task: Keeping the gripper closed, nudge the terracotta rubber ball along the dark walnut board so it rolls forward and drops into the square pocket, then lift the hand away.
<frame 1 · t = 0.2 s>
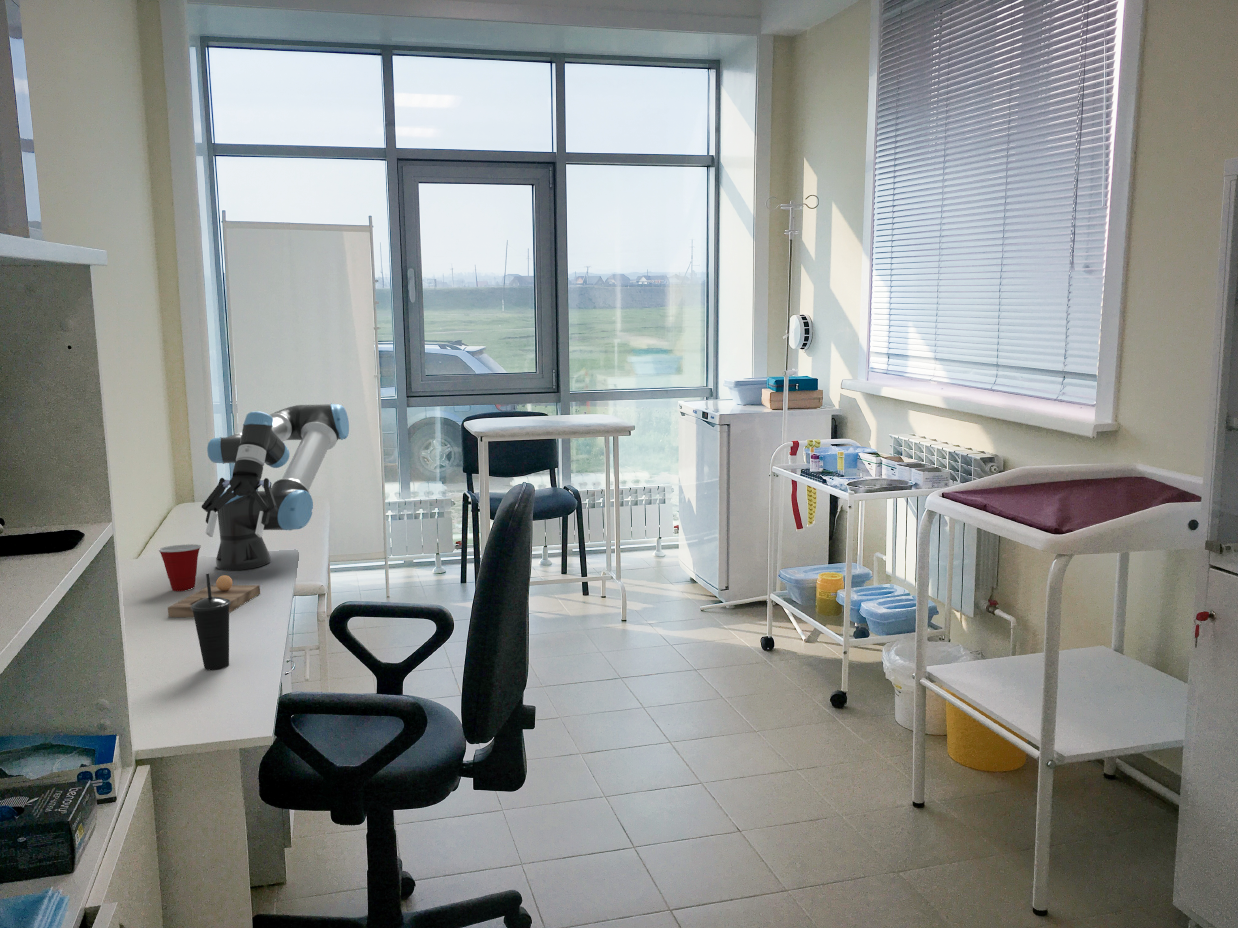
hand: (233, 535, 263), 15 cm above the table, tool tilted 35°, fingers open, 13 cm apart
drinking cup: (216, 667, 206), on the table
board: (216, 605, 252), on the table
ball: (224, 582, 257), point 4 cm above the table, touching board
plastic cup: (184, 589, 270), on the table
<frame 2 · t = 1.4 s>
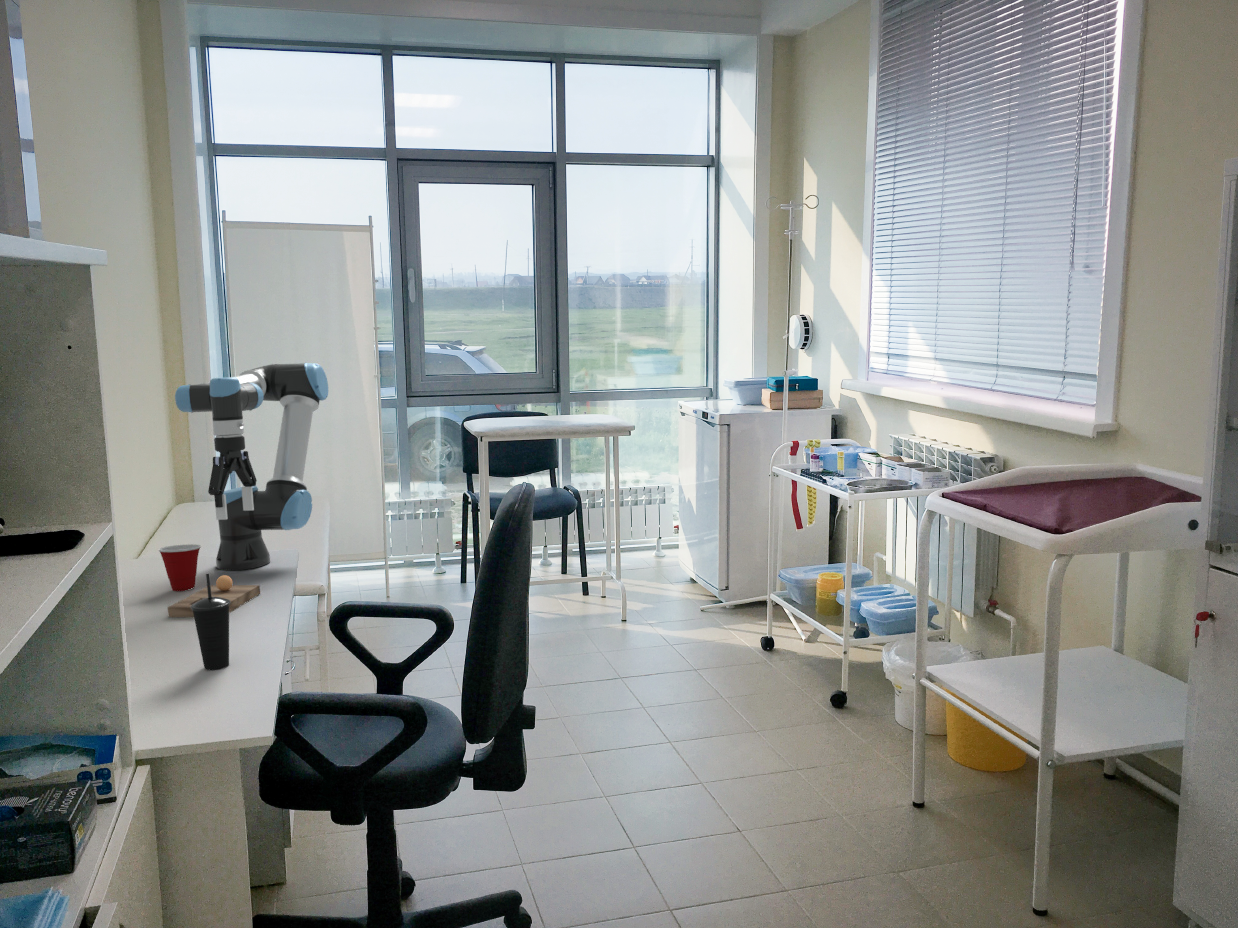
hand: (235, 514, 263), 21 cm above the table, tool pointing down, fingers open, 13 cm apart
nothing on the table moved.
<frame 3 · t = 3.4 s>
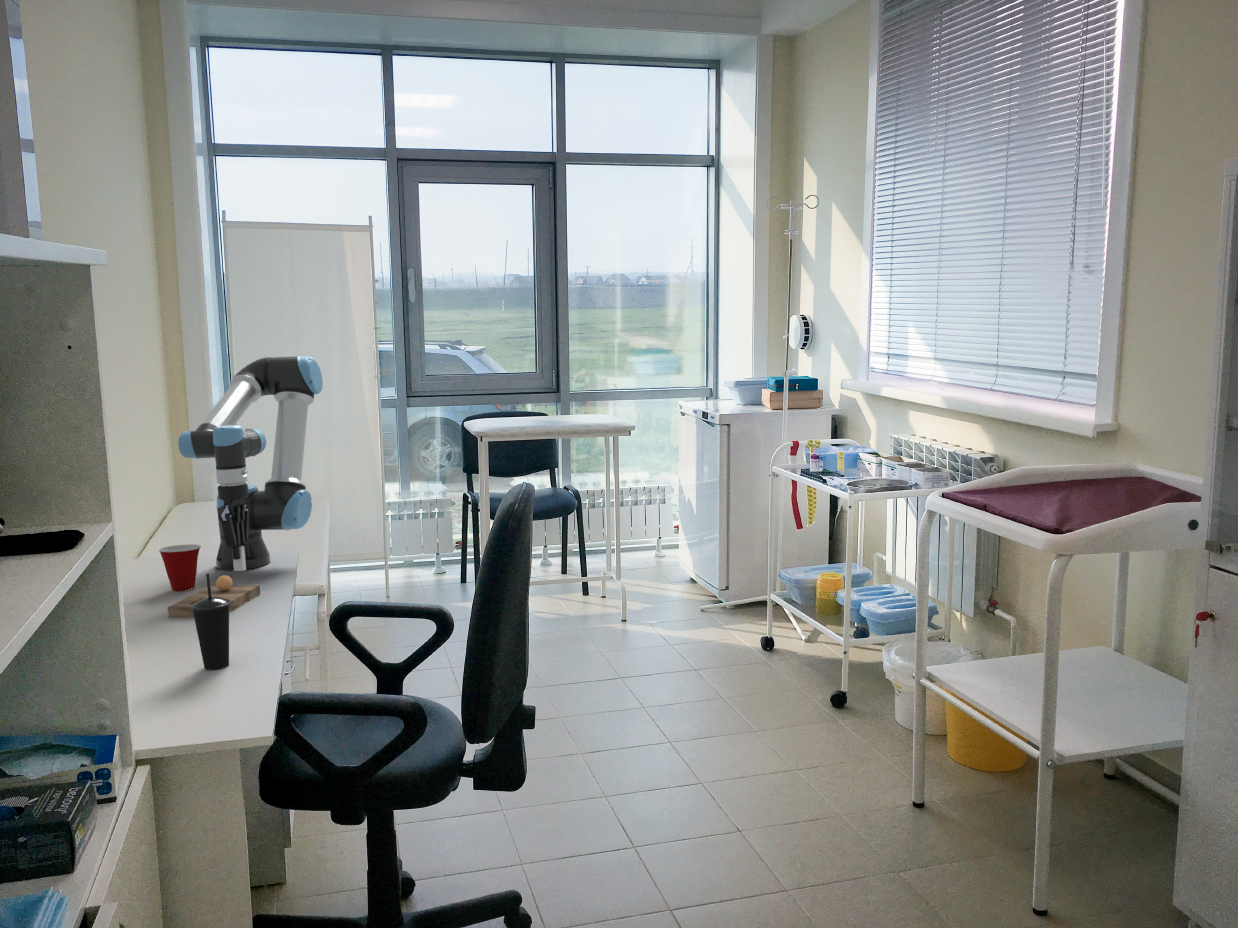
hand: (240, 570, 265), 6 cm above the table, tool pointing down, fingers closed
nothing on the table moved.
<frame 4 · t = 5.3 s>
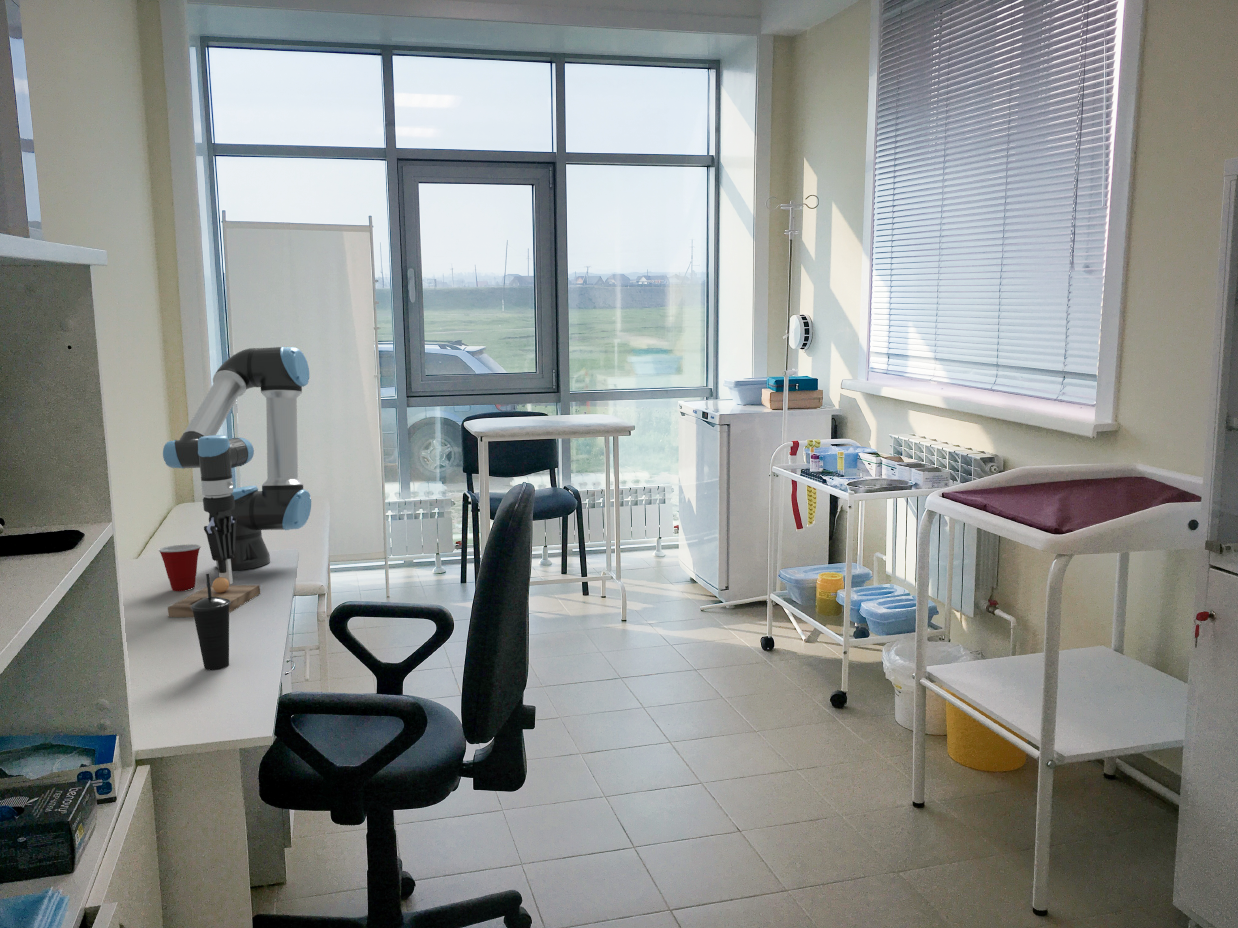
hand: (226, 583, 258), 4 cm above the table, tool pointing down, fingers closed
ball: (220, 584, 255), point 4 cm above the table, tilted 49°, touching board
everything else where it was.
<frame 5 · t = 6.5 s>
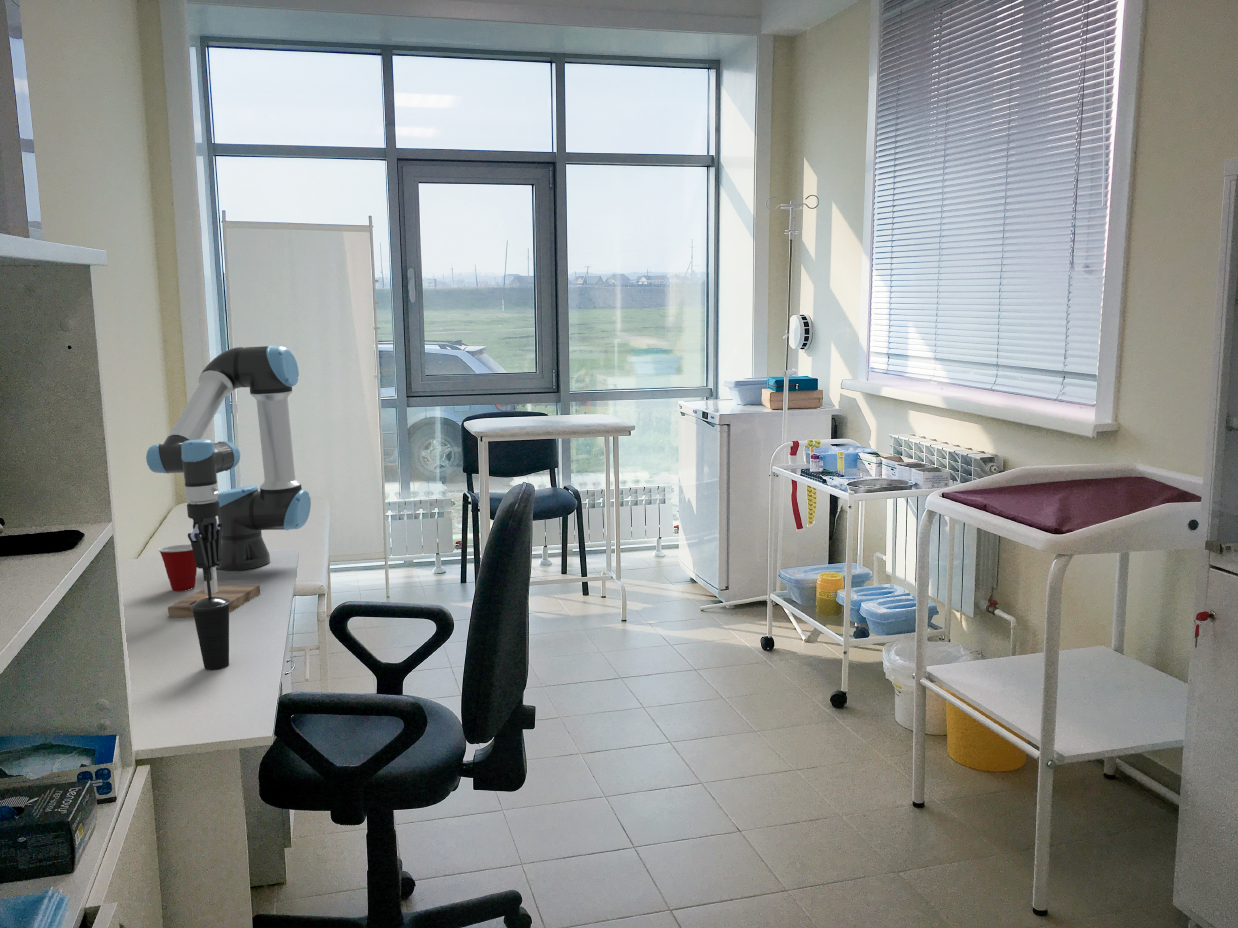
hand: (211, 592, 250), 4 cm above the table, tool pointing down, fingers closed
ball: (204, 604, 247), point 2 cm above the table, tilted 36°
everything else where it was.
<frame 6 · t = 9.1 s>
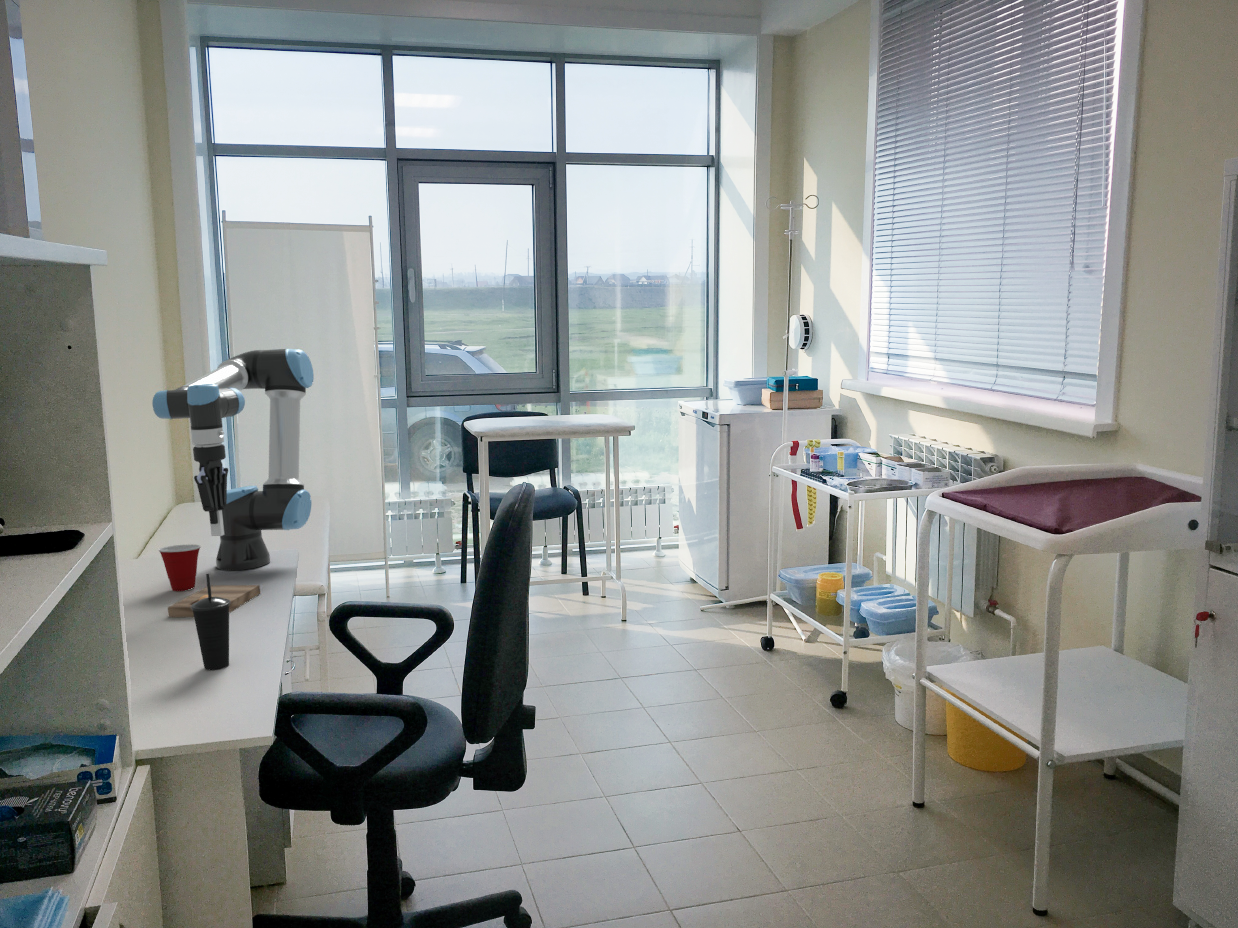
hand: (217, 535, 254), 17 cm above the table, tool pointing down, fingers closed
ball: (206, 602, 248), point 2 cm above the table, tilted 71°
everything else where it was.
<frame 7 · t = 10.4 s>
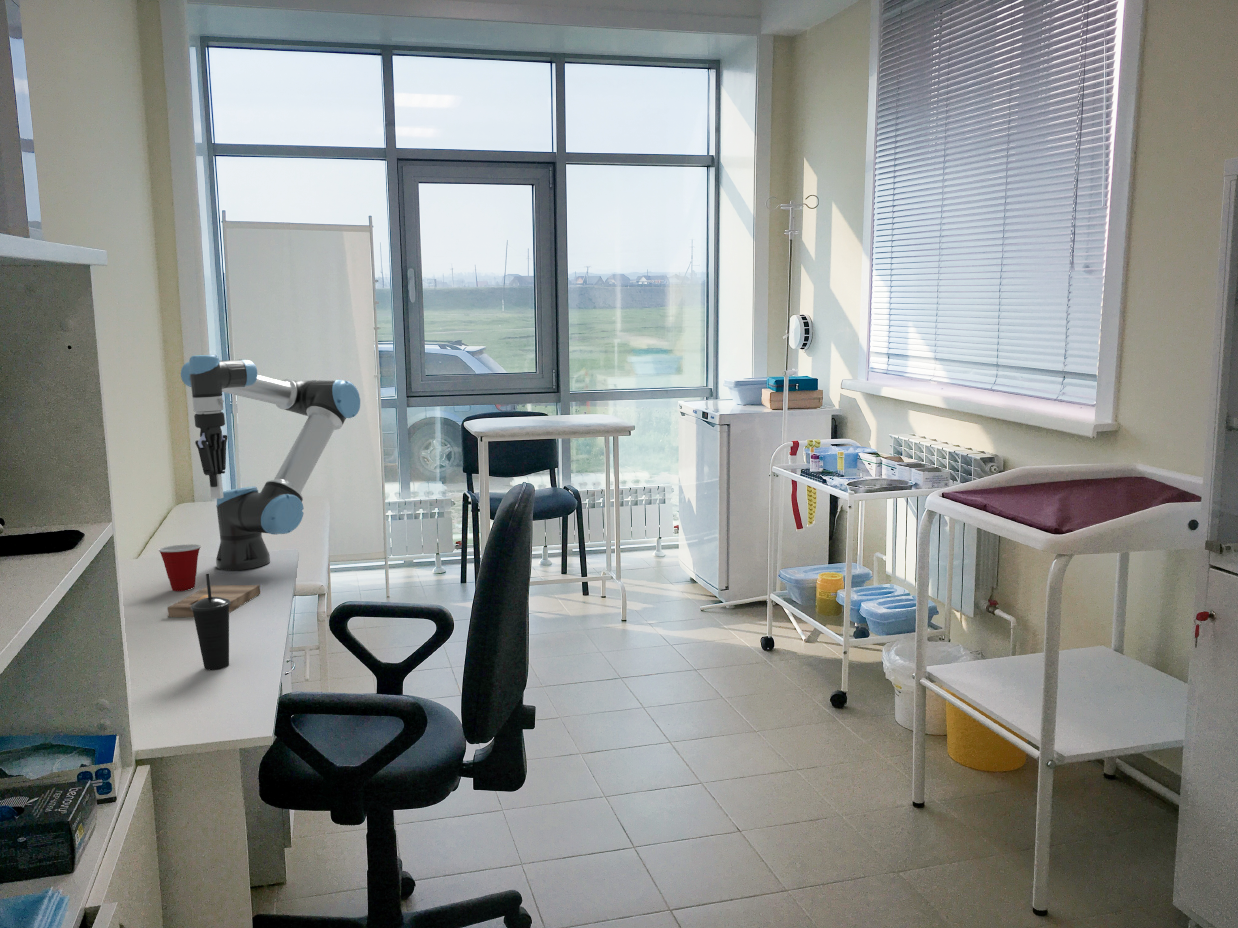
hand: (217, 497, 269), 24 cm above the table, tool pointing down, fingers closed
ball: (206, 602, 248), point 2 cm above the table, tilted 66°
everything else where it was.
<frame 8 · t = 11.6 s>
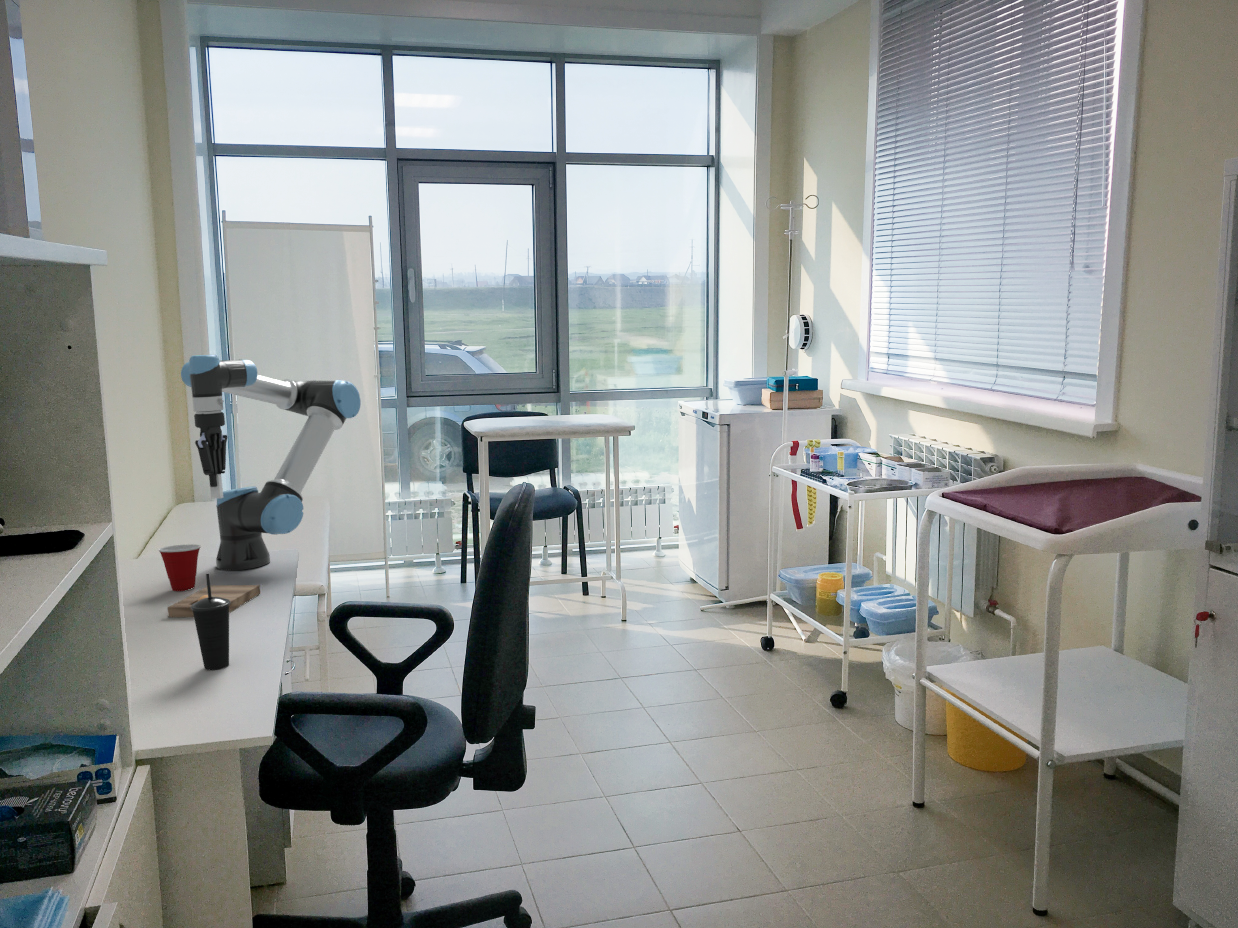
hand: (217, 497, 269), 24 cm above the table, tool pointing down, fingers closed
nothing on the table moved.
at the end: ball 0.3 cm from the target spot on the board, point 2.0 cm above the board's base; the gripper is holding nothing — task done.
